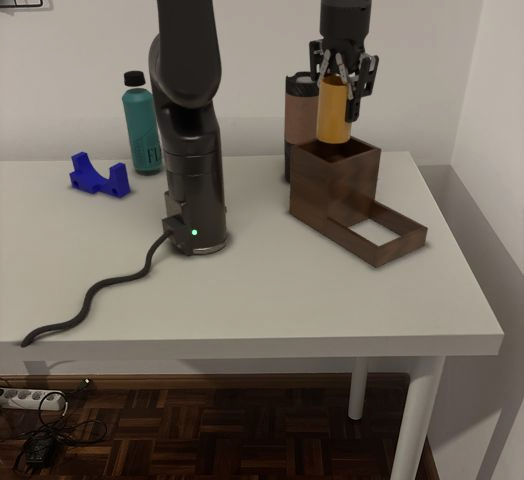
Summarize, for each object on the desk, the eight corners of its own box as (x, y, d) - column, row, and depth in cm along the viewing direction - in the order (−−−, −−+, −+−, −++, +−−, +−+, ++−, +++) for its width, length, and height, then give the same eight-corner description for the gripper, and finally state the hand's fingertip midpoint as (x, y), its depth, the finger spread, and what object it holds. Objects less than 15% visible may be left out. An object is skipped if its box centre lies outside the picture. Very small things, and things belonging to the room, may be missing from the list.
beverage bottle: (151, 180, 118) (135, 79, 105) (127, 173, 121) (109, 74, 107) (170, 169, 122) (157, 70, 109) (147, 162, 125) (132, 65, 112)
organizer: (376, 268, 92) (386, 194, 84) (289, 213, 107) (290, 145, 98) (424, 245, 97) (439, 174, 89) (335, 196, 112) (340, 130, 103)
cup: (331, 146, 93) (336, 88, 87) (309, 135, 96) (312, 79, 90) (357, 138, 95) (364, 82, 89) (334, 128, 99) (340, 73, 93)
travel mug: (321, 186, 115) (327, 83, 101) (283, 187, 115) (285, 83, 102) (319, 170, 120) (324, 70, 107) (283, 171, 121) (284, 71, 107)
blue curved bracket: (72, 187, 116) (65, 159, 112) (88, 179, 119) (81, 151, 115) (115, 201, 111) (109, 172, 107) (130, 192, 114) (125, 163, 110)
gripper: (296, -5, 85) (293, 109, 96) (361, 10, 76) (350, 134, 88) (333, -11, 88) (327, 100, 100) (400, 3, 80) (384, 123, 91)
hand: (337, 115), depth 94 cm, fingers closed on cup, 6 cm apart
